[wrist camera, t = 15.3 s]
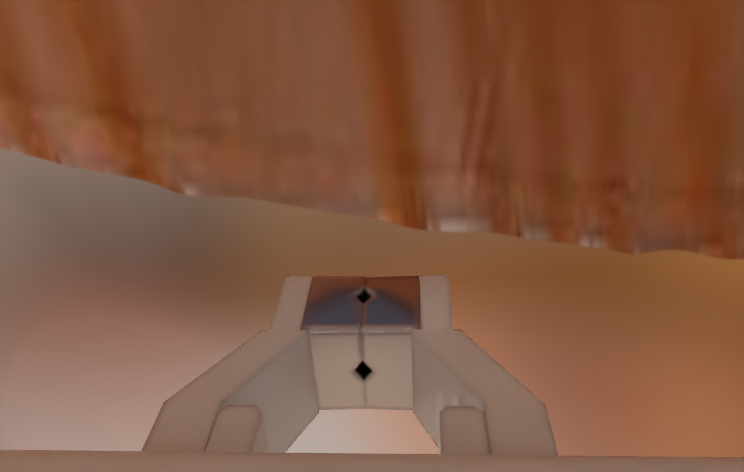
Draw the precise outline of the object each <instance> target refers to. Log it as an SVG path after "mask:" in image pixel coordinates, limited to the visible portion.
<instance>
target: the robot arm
mask: <svg viewBox="0 0 744 472" xmlns="http://www.w3.org/2000/svg"><path fill="white" fill-rule="evenodd" d="M328 409H329V410H330V409H391V410H413V413H414V414H415V416H416V417H417V418H418V420H419V421H420V423H421V424H422V426H423V427H424V428H425V430H426V431H427V433H428V434H429V435H430V437H431V438H432V440H433V441H434V443H435V444H436V445H437V447H438V448H439V454H344V453H343V454H342V453H285V452H286V451H287V450H288V448H289V447H290V446H291V445H292V444H293V442H294V441H295V440H296V439H297V438H298V437H299V435H300V434H301V433H302V432H303V431H304V430H305V428H306V427H307V426H308V425H309V423H311V421H312V420H313V419H314V418H315V417H316V415H317V414H318V413H319V410H328ZM0 472H744V458H741V457H739V458H738V457H735V458H734V457H636V456H635V457H633V456H558V453H557V449H556V445H555V441H554V437H553V433H552V429H551V425H550V421H549V417H548V412H547V409H546V405H545V404H544V403H543V402H542V401H541V400H539V399H538V398H537V397H536V396H535V395H534V394H533V393H531V392H530V391H529V390H528V389H527V388H526V387H525V386H524V385H523V384H521V383H520V382H519V381H518V380H517V379H516V378H515V377H514V376H512V375H511V374H510V373H509V372H508V371H507V370H506V369H505V368H503V367H502V366H501V365H500V364H499V363H498V362H497V361H496V360H494V359H493V358H492V357H491V356H490V355H489V354H488V353H486V352H485V351H484V350H483V349H482V348H481V347H480V346H479V345H478V344H476V343H475V342H474V341H473V340H472V339H471V338H470V337H469V336H467V335H466V334H465V333H464V332H463V331H462V330H460V329H458V330H456V329H453V326H452V315H451V304H450V293H449V282H448V276H447V275H446V274H439V275H420V279H419V276H395V277H364V276H363V277H362V276H361V277H360V276H358V277H357V276H355V277H354V276H314V277H313V276H288V277H287V278H286V279H285V280H284V283H283V286H282V289H281V292H280V296H279V300H278V302H277V306H276V309H275V312H274V315H273V319H272V322H271V326H270V329H269V330H261V331H260V332H258V333H257V334H256V335H254V336H253V337H252V338H250V339H249V340H248V341H246V342H245V343H244V344H242V345H241V346H239V347H238V348H237V349H236V350H234V351H233V352H231V353H230V354H229V355H228V356H226V357H225V358H223V359H222V360H221V361H219V362H218V363H216V364H215V365H214V366H212V367H211V368H210V369H209V370H207V371H206V372H204V373H203V374H201V375H200V376H199V377H197V378H196V379H195V380H194V381H192V382H191V383H189V384H188V385H187V386H185V387H184V388H183V389H181V390H180V391H179V392H177V393H176V394H175V395H173V396H172V397H170V398H169V399H168V400H166V401H165V402H164V403H163V405H162V407H161V410H160V412H159V414H158V416H157V418H156V420H155V423H154V425H153V427H152V429H151V431H150V434H149V436H148V438H147V440H146V442H145V444H144V447H143V449H142V451H66V450H0Z"/></svg>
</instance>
